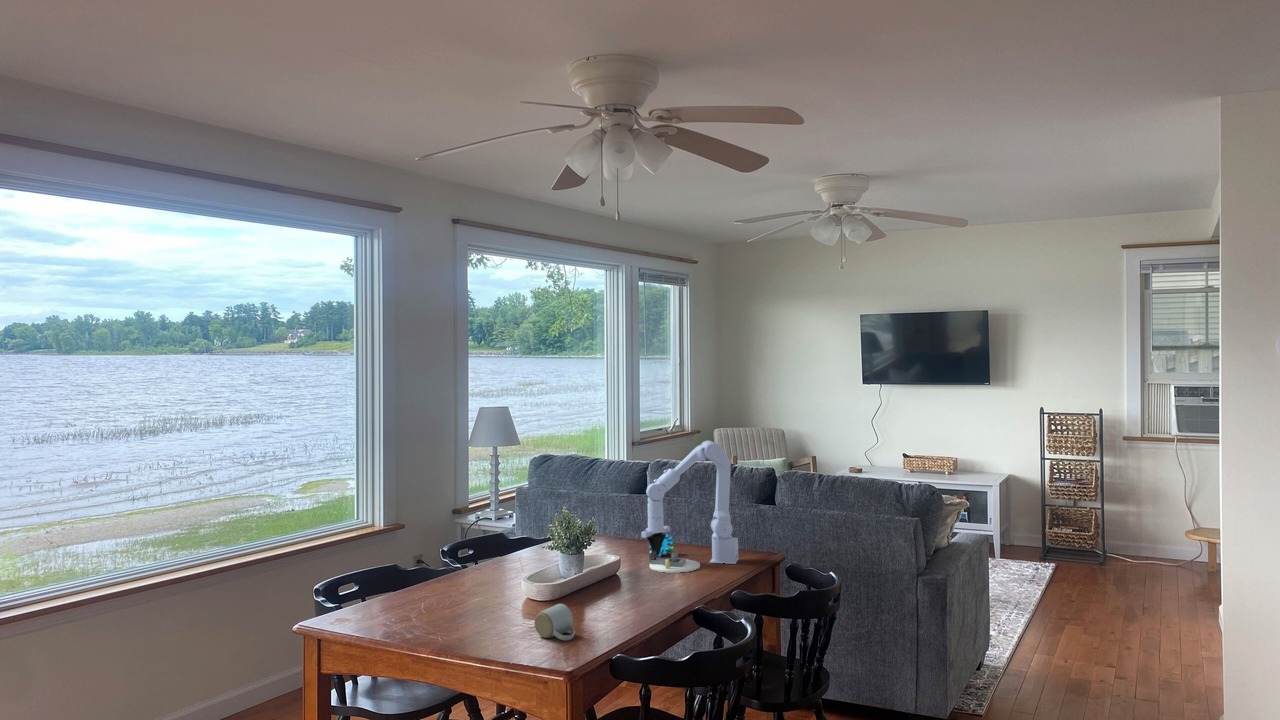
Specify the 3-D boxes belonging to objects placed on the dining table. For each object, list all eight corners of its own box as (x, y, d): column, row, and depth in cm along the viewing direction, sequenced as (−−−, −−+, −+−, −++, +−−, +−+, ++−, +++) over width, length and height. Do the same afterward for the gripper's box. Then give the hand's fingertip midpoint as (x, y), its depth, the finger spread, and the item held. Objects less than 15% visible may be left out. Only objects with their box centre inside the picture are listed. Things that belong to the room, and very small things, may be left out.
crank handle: (686, 561, 312) (685, 550, 312) (682, 566, 306) (681, 554, 306) (652, 560, 316) (651, 548, 316) (647, 564, 309) (647, 552, 309)
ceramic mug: (532, 636, 233) (532, 607, 233) (553, 629, 239) (553, 601, 239) (561, 644, 226) (560, 615, 226) (582, 636, 232) (582, 607, 232)
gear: (643, 550, 331) (658, 530, 335) (650, 559, 334) (664, 539, 339) (664, 559, 323) (678, 537, 327) (671, 568, 326) (685, 546, 331)
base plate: (704, 562, 316) (704, 548, 316) (694, 574, 299) (694, 559, 299) (656, 560, 321) (656, 547, 321) (643, 572, 304) (643, 557, 304)
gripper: (658, 513, 323) (659, 549, 323) (634, 518, 311) (635, 556, 311) (674, 514, 318) (674, 552, 318) (650, 520, 307) (650, 559, 307)
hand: (656, 554), depth 314 cm, fingers closed
